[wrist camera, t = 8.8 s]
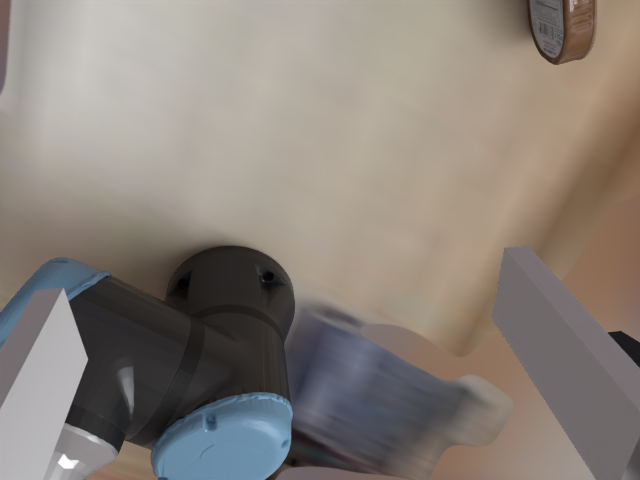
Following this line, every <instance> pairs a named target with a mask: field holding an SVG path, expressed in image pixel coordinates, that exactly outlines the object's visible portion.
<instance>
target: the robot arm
mask: <svg viewBox="0 0 640 480" xmlns="http://www.w3.org/2000/svg"><path fill="white" fill-rule="evenodd" d="M294 313H295V299H294V291H293V286H292V283H291V281H290V278H289V276H288V275H287V273H286V272H285V270H284V269H283V268H282V267H281V266H280V265H279V264H278V263H277V262H276V261H275V260H273V259H272V258H270V257H269V256H267V255H265V254H263V253H261V252H258V251H256V250H252V249H249V248H244V247H235V246H227V247H217V248H212V249H209V250H206V251H203V252H200V253H198V254H196V255H194V256H192V257H191V258H189V259H188V260H187V261H185V262H184V263H183V264H182V265H181V266H180V267H179V268H178V269H177V270H176V272H175V273H174V274H173V276H172V278H171V280H170V282H169V285H168V289H167V294H166V298H165V302H163V301H161V300H159V299H157V298H155V297H153V296H151V295H149V294H147V293H145V292H143V291H141V290H139V289H137V288H135V287H133V286H131V285H129V284H127V283H125V282H123V281H121V280H119V279H117V278H115V277H113V276H111V273H109V272H107V271H103V272H101V271H99V270H96V269H94V268H92V267H90V266H87V265H85V264H83V263H80V262H78V261H76V260H73V259H70V258H56V259H53V260H50V261H48V262H46V263H45V264H44V265H43V266H41V267H40V268H39V269H38V270H37V271H36V272H35V273H34V275H33V276H32V277H31V278H30V279H29V280H28V281H27V282H26V283H25V284H24V285H23V287H22V288H21V289H20V290H19V291H18V292H17V293H16V295H15V296H14V297H13V298H12V299H11V300H10V302H9V303H8V304H7V305H6V306H5V308H4V309H3V310H2V311H1V312H0V480H85V479H86V478H87V477H88V476H89V475H90V474H92V473H93V472H95V471H96V470H98V469H100V468H102V467H104V466H105V465H107V464H109V463H111V462H113V461H115V460H116V458H117V456H118V454H119V451H120V449H121V446H122V444H123V442H124V440H125V441H129V442H131V443H134V444H137V445H140V446H142V447H145V448H148V449H150V450H152V452H151V458H150V459H151V464H152V467H153V472H154V474H155V475H156V477H158V480H265V479H266V478H267V477H269V476H270V475H271V474H272V473H273V472H274V471H276V470H277V469H278V467H279V466H280V465H281V464H282V462H283V461H284V459H285V458H286V456H287V454H288V451H289V448H290V444H291V420H292V413H293V412H292V407H291V402H290V393H289V385H288V376H287V367H286V359H285V350H284V342H285V340H286V337H287V334H288V332H289V329H290V327H291V324H292V321H293V318H294ZM492 319H493V321H494V322H495V324H496V325H497V327H498V328H499V330H500V332H501V333H502V335H503V336H504V337H505V339H506V341H507V342H508V344H509V345H510V347H511V349H512V350H513V352H514V353H515V355H516V356H517V358H518V359H519V361H520V363H521V364H522V366H523V367H524V369H525V370H526V372H527V373H528V375H529V377H530V378H531V380H532V381H533V383H534V384H535V386H536V387H537V389H538V390H539V392H540V394H541V395H542V396H543V398H544V400H545V401H546V403H547V404H548V406H549V408H550V409H551V411H552V412H553V414H554V415H555V417H556V418H557V420H558V421H559V423H560V425H561V426H562V428H563V429H564V431H565V432H566V434H567V435H568V437H569V439H570V440H571V442H572V443H573V445H574V446H575V448H576V449H577V451H578V453H579V454H580V456H581V457H582V459H583V460H584V461H585V463H586V465H587V466H588V468H589V470H590V471H591V473H592V474H593V476H594V477H595V479H596V480H640V343H639V342H638V341H636V340H635V339H633V338H631V337H630V336H628V335H627V334H625V333H623V332H622V331H617V332H608V333H607V332H606V331H605V330H604V328H603V327H602V326H601V325H600V324H599V323H598V322H597V321H596V320H595V319H594V318H593V316H592V315H590V313H589V312H588V311H587V310H586V309H585V308H584V307H583V305H582V304H581V303H580V302H579V301H578V300H577V299H576V298H575V297H574V296H573V295H572V293H571V292H570V291H569V290H568V289H567V288H566V287H565V286H564V285H563V284H562V282H561V281H560V280H559V279H558V278H557V277H556V276H555V275H554V274H553V273H552V271H551V270H550V269H549V268H548V267H547V266H546V265H545V264H544V263H543V262H542V261H541V259H540V258H539V257H538V256H537V255H536V254H535V253H534V252H533V251H532V250H531V248H530V247H529V246H521V247H510V248H504V253H503V259H502V264H501V270H500V275H499V281H498V286H497V292H496V298H495V303H494V309H493V314H492Z"/></svg>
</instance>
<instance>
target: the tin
mask: <svg viewBox="0 0 640 480" xmlns="http://www.w3.org/2000/svg"><path fill="white" fill-rule="evenodd" d="M528 14H529V23H530V28H531V33H532V37H533V40H534V43H535V45H536V47H537V49H538V51H539V53H540V54H541V56H542V57H544V58H545V59H546V60H547V61H548V62H550V63H552V64H554V65H559V64H563V63H567V62H570V61H573V60H581V59H583V58H585V57H586V56H587V55H588V54H589V53H590V51H591V49H592V47H593V44H594V41H595V36H596V29H597V0H528Z"/></svg>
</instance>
